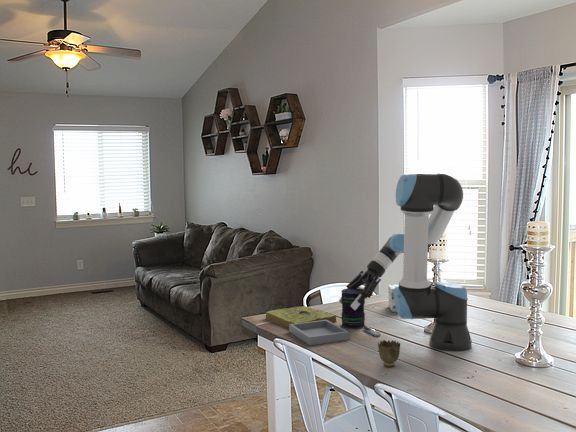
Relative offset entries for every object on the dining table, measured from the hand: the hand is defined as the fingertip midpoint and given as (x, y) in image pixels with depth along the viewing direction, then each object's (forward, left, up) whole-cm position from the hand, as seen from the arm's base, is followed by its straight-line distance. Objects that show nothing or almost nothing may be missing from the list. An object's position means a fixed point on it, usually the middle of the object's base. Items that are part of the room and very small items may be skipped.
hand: (346, 305), depth 245 cm
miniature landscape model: (+18, +14, -10) cm, 24 cm away
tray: (-7, +16, -9) cm, 20 cm away
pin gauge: (-13, -5, -8) cm, 16 cm away
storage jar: (0, -3, -9) cm, 10 cm away
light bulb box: (+16, -35, -9) cm, 40 cm away
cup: (-49, +10, -9) cm, 51 cm away
